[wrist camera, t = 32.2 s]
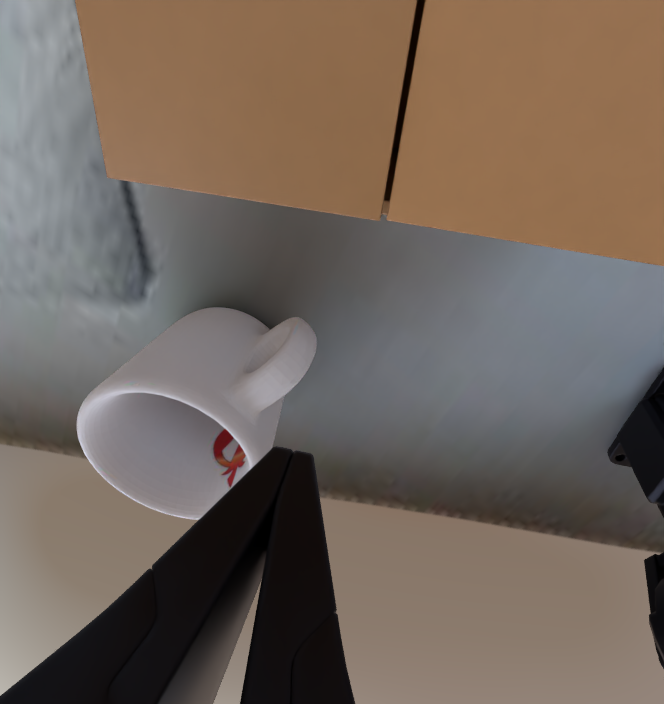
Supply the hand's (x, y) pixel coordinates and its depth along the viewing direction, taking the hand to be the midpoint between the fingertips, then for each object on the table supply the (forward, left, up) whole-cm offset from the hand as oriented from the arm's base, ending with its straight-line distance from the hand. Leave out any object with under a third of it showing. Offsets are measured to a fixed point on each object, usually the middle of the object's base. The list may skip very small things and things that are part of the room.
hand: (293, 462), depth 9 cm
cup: (+5, +6, -13) cm, 16 cm away
